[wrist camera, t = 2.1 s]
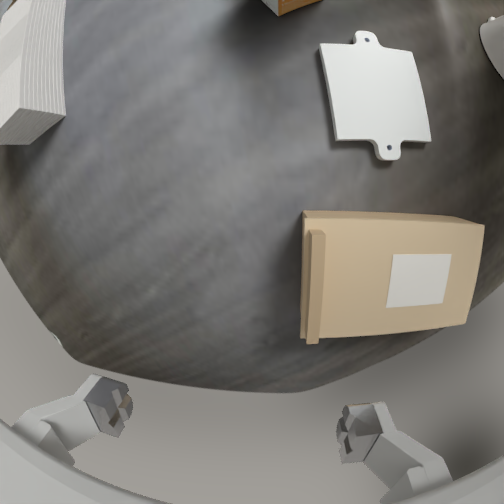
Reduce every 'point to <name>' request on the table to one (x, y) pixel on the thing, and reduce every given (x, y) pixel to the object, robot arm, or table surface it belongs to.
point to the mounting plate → (374, 95)
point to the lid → (386, 276)
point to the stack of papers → (31, 70)
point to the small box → (286, 5)
